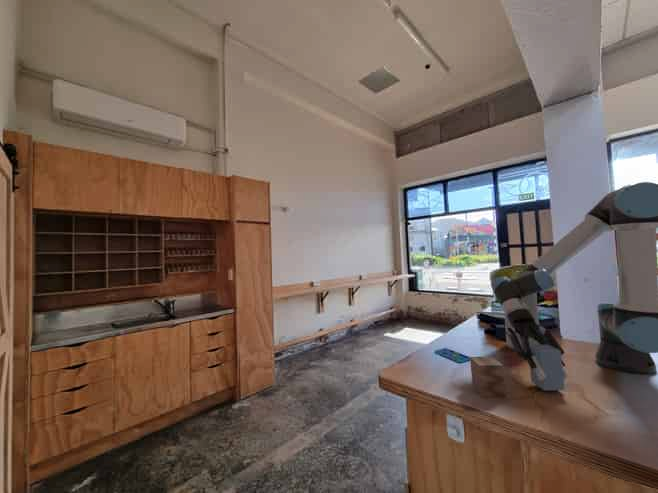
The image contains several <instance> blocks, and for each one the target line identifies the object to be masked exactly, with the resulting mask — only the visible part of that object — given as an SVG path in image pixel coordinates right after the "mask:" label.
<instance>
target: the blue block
mask: <svg viewBox="0 0 658 493" xmlns="http://www.w3.org/2000/svg"><path fill="white" fill-rule="evenodd" d="M529 347H530V351H531V357H532V356H535V358H536V359H537V361H538V363H539V365H540V367H541V369H542V370H543V372H544V374H545V376H546V377H545V378H544V379H543V380H539V378H538V376H537V374H536V372H535V370H534V369H532V368H531V367H530V366H529V371H530V380H531V381H530V382H531V383H533V384H535V385H536V386H537V387H539V388H540V389H541V390H542V391H565V390H566V389H565V380H564V379H563V368H562V361H563V359H562V355H561V351H560V350H558V349H556V348H554V347H551V346H549V345H529Z"/></svg>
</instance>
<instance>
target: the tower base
mask: <svg viewBox="0 0 658 493" xmlns="http://www.w3.org/2000/svg"><path fill="white" fill-rule="evenodd" d="M471 384H472V388H473V389H474V390H475V391H476V392H477V394H478V395H479V396H480V397H481V399H482V398H483V399H486V398H487V399H490V398H491V399H499V398H500V399H506V398H507V391H506V381H505V380H504V382H480V381H479V380H478V379H477V378H476V376H475V375H474V374H473V373H472V372H471Z"/></svg>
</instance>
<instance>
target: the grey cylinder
mask: <svg viewBox="0 0 658 493" xmlns="http://www.w3.org/2000/svg"><path fill="white" fill-rule="evenodd" d="M537 295H538V293H535V294H532V295H529V296H526V297H523V298H522V300H523V301H524V303H525V304H526V306H527V308H528V310H529V311H530V313H531V314H532V316H533V318H534V320H535V323H536V324H538V325H539V326H540V322H539V309H538V297H537ZM503 312H504V311H503ZM503 314H504V325H505V331H506V330H507V329H508V327H510V328H512V325H511V324H510V322H509V320H508V318H507V316H506V314H505V312H504V313H503ZM515 333H516V332H515ZM516 335H517V337H518V340H519V342H520V344H521V346H522V341H521V339H520V335H519V334H518V333H516ZM536 337H537V336H536ZM505 339H506V340H505V341H506V346H507V347H508V348H509V349H511V350H514V351H515V348H514V346H513V344H512V341H511V339H510V337H509V336H508V334H507V333H506V332H505ZM528 340H529V345H540V344H539V343H538V342H537V341H535V340H534V339H533V338H528ZM522 349H523V347H522Z"/></svg>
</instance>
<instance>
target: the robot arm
mask: <svg viewBox="0 0 658 493" xmlns="http://www.w3.org/2000/svg"><path fill="white" fill-rule="evenodd" d="M657 229H658V183H655V182H650V181H639V182H638V181H637V182H634V183H630V184H626V185H623V186H622V187H620V188H618V189H615V190H613V191H611V192H609V193H608V194H606V195H605V196H603V198H602V199H601V200H599V202H598V203H597V204H596V205H595V206H594V207H592V208H591V209H590V210H589V211H588V212H587V213H586V214H585V215H584V219H583V220H582V221H581V222H580V223H579V224H577V225H576V226H575V227H574V228H573V229H572V230H570V231H569V232H567V233H566V235H565V236H563V237H562V238H560V239H559V240H558V241H557V242H556V243H554V245H553V246H551V247H550V248H549V249H547V250H546V251H545V252H544V253H543V254H541V255H540V256H539V257H538V258H537V259H535V261H534V260H533V261H532V263H531V264H529V265H528V266H527V267H526V268H525V269H522V270H520V271H519V272H518V274H517V275H516V277H515V278H512V279H510V278H509V277H507V276H498V277H496V278H495V279H493V280H492V281H491V283H490V284H491V285H490V286H491V289H492V291H493V295H495V298H496V299H497V301H498V302H499V305H500V306H501V308H502V310H503V312H505V314H506V316H507V318H508V320H509V322H510V324H511V325H512V328H510V327H508V329H507V330H506V329H505V334H506V333H507V334H508V336H509V337H510V339H511V341H512V344H513V346H514V348H515V350H514V351H515V352H516V355H517V357H518V358H520V359H521V358H523V360H524V361H526V362H527V364H528V365H529V368H530V367H531V368H532V369H534V370H535V372H536V374H537V376H538V378H539V380H543V379H544V378H545V377H546V376H545V374H544V372H543V370H542V369H541V367H540V365H539V363H538V361H537V359H536V358H535V356H532V357H531V351H530V347H529V340H528V338H533V339H534V340H535V341H537V342H538V343H539V344H540V345H549V346H551V347H554V348H556V349H558V350H560V351H561V356H563V355H564V354H565V350H563V348H562V347H561V345H560V344H559V342H558V341H557V339H556V338H555V337H554V336H553V334H552V333H551V331H550V326H547V325H544V326H540V324H539V325H538V324H536V323H535V320H534V318H533V316H532V314H531V313H530V311H529V310H528V308H527V306H526V304H525V303H524V301H523V300H522V298H523V297H526V296H529V295H532V294H535V293H536V294H538V293H540V292H544V291H547V290H549V289H552V288H554V287H555V286H556V283H555V280H554V279H553V277H552V275H553V274H554V273H555V272H556V271H557V270H559V269H560V268H561V267H563V266H564V265H565V264H566V263H568V262H569V261H570V260H571V259H572V258H574V257H575V256H576V255H578V254H579V253H580V252H581V251H582V250H584V249H585V248H586V247H588V246H589V245H591V244H592V243H593V242H594V241H595V240H597V239H598V238H600V236H602V235H603V234H604V233H605V232H606V233H608V232H612V231H613V230H614V231H616V243H617V244H616V246H617V248H616V250H617V271H618V272H617V275H618V276H617V278H618V279H617V280H618V301H617V302H600V303H598V304H597V311H596V312H597V316H598V329H599V337H600V338H599V339H600V341H599V345H598V347H597V349H596V352H595V355H594V356H595V361H596V363H597V364H599V365H601V366H603V367H606V368H609V369H612V370H616V371H618V372H619V371H620V372H625V373H631V374H640V375H650V374H651V375H653V374H655V373H656V372H657V365H656V363H655V360H654V359H653V357H652V355H651V354H656V353H658V253H657V252H658V248H657V246H658V245H657ZM505 314H504V315H505ZM515 332H516V333H518V334H519V335H520V339H521V341H522V346H521V344H520V342H519V340H518V337H517V335H516V333H515ZM536 336H537V337H536ZM522 347H523V349H522ZM565 367H566V364H565V362H564V361H563V360H562V368H563V379H564V381H565V380H567V379H568V378H570V374H569V373H568V371H567V369H566V368H565Z"/></svg>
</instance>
